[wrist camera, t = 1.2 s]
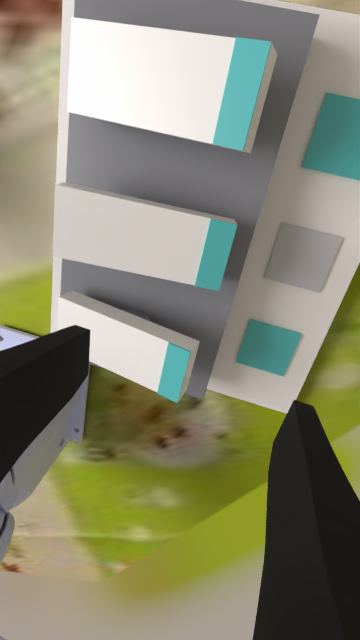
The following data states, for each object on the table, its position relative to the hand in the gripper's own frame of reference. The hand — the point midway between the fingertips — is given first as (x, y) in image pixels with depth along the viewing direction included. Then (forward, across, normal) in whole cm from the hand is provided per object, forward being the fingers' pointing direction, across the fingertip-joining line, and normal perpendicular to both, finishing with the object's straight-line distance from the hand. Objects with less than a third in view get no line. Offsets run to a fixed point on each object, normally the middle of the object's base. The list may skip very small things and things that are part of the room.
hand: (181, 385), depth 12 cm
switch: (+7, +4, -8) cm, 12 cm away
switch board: (+11, +3, -2) cm, 12 cm away
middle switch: (+7, +5, -3) cm, 9 cm away
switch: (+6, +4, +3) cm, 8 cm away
